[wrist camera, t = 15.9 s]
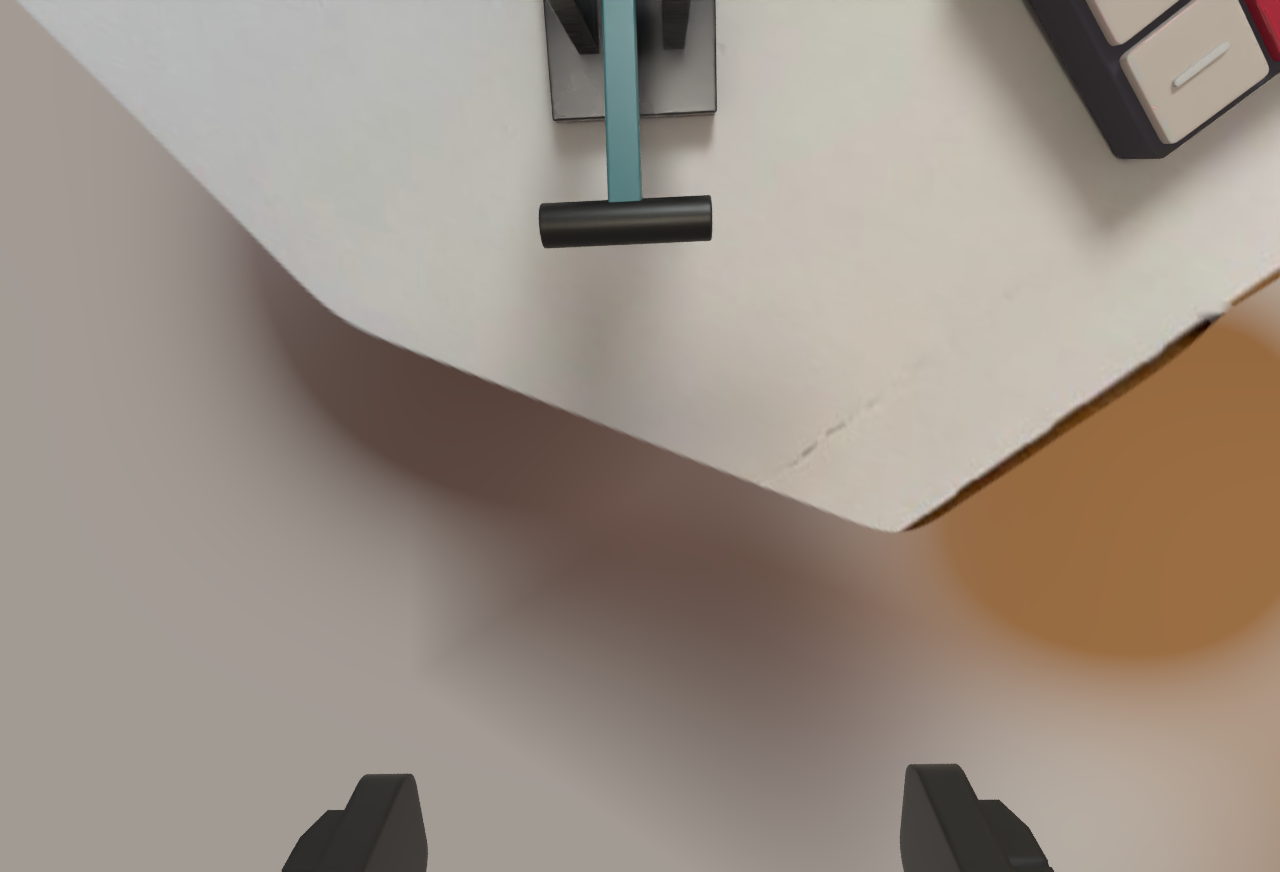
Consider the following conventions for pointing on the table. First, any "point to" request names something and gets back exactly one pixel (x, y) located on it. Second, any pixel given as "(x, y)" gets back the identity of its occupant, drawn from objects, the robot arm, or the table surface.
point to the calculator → (1163, 63)
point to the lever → (624, 164)
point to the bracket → (667, 58)
